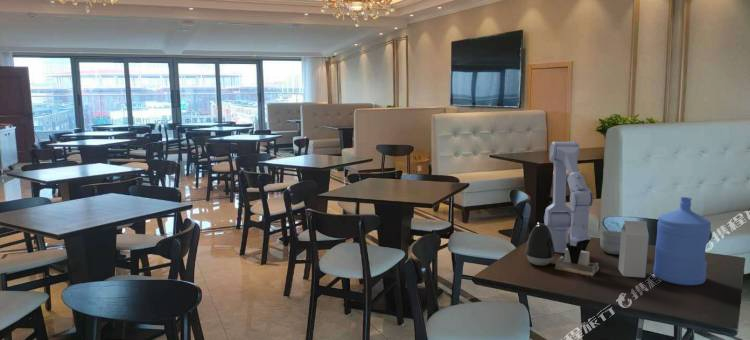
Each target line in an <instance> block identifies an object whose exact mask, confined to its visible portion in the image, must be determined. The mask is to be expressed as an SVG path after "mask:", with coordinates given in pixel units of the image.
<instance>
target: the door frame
mask: <svg viewBox="0 0 750 340" xmlns="http://www.w3.org/2000/svg"><path fill="white" fill-rule="evenodd" d="M564 258H565V257H564V256H560V257H558V258H557V259H556V265H554V270H559V271H564V272H569V273H572V274H573V273H575V274H578V273H579V274H580V275H583V276H585V275H586V276H589V275H590V277H593V276H595V274H596V273H597V272H598V271H599V269H600V267H599V262H590V261H589V266H585V265H579V264H574V263H569V262H564ZM579 274H578V275H579Z"/></svg>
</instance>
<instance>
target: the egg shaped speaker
mask: <svg viewBox="0 0 750 340" xmlns="http://www.w3.org/2000/svg"><path fill="white" fill-rule="evenodd" d="M555 253H556V252H555V250H554V243H553V238H552V235H551V232H550V230H549V228H548V226H546V225H545V223H540V222H537V223H536V224H535V225H534V227H533V228H532V230H531V232H530V234H529V237H528V239H527V243H526V247H525V254H526V257H527V260H528V262H529V263H531V264H533V265H535V266H538V267H539V266H541V267H543V266H544V267H545V266H547V265H549V264H551V263H552V262H553V259H554V257H555V255H556V254H555Z"/></svg>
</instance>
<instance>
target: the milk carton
mask: <svg viewBox="0 0 750 340" xmlns="http://www.w3.org/2000/svg"><path fill="white" fill-rule="evenodd" d="M647 224H648V222H647V221H641V220H640V221H636V220H624V224H623V226H622V227H621V230H620V232H621V241H620V254H619V255H618V266H617V268H618V271H619V272H620V274H621V275H622V276H623V277H629V278H631V277H632V278H645V279H646V274H647V273H646V271H647V262H648V261H647V260H648V248H649V238H650V237H649V231H648V227H647V226H648V225H647Z"/></svg>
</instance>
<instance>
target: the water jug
mask: <svg viewBox="0 0 750 340" xmlns="http://www.w3.org/2000/svg"><path fill="white" fill-rule="evenodd" d="M692 200H693V199H692V198H691V197H686V196H683V197H682V196H681V197H680V203H679V209H676V210H673V211H669V212H666V213H663V214H660V215H659V216H658V219H657V220H658V221H657V225H656V228H657V232H656V242H655V246H654V248H655V250H654V251H655V253H654V254H655V256H654V266H653V272H652V273H653V275H654V276H655V277H656V278H658V279H659V280H660V281H663V282H666V283H670V284H675V285H678V286H679V285H680V286H700V285H703V284H704V283H705V282H706V277H707V274H706V273H707V264H708V262H707V260H706V259H705V257H706V248H707V244H708V243H709V242H710V235H711V230H712V228H711V224H712V223H711V221H710V220H709V219H707V218H706V217H703V216H702V215H700V214H698V213H696V212H694V211H692V209H691V205H692Z"/></svg>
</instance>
